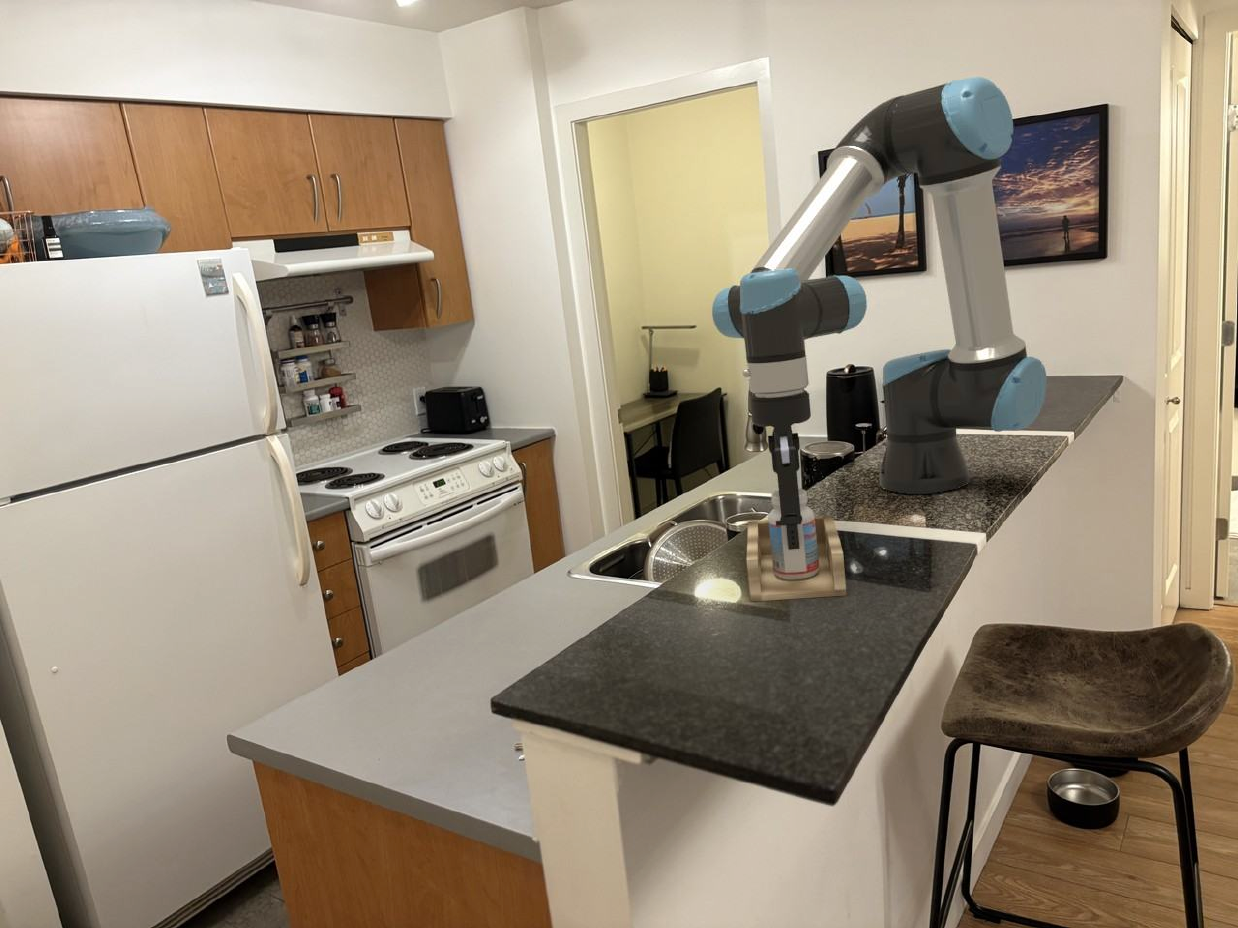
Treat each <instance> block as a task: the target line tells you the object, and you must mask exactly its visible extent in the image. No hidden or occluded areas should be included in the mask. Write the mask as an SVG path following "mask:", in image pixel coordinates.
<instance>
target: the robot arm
mask: <svg viewBox="0 0 1238 928" xmlns="http://www.w3.org/2000/svg"><path fill="white" fill-rule="evenodd" d="M1013 120H1014V119H1013V115H1012V112H1011V107H1010V105H1009V102H1008V100H1007V98H1006V96H1005V95H1004V93H1003V91H1002V90H1001V89H1000V88H999V87H997V85H996V84H995V83H994V82H993V81H991V80H990V79H988V78H986V77H982V76H981V77H979V76H974V77H969V78H964V79H957V80H952V81H949V82H945V83H943V84H940V85H936V86H932V87H930V88H926V89H923V90H919V91H915V92H912V93H911V92H910V93H907V94H905V95H898V96H895V97H892V98H890V99H887V100H886V101H883V102H882V103H881V104H878V105H877V106H876V107H875V108H873V109H872V110H871V111H870V112H868V113H866V115H865V116H864V117H862V118H861V119H860V120H859V121H858V122H857V123H856V124H855V125H854V126H853V127H852V128H851V129H850V130H849V131H848V132H847V133H846V135H845V136H844V137H842V139H841V140H840V141H839V142H838V144H837V145H836V146H835V147H834V149H833V151H831V153H830V155H829V156H828V157H827V161H826V170H825V172H824V173H823V174H822V176H821V177H820V178H819V180H818V181H817V183H815V185H814V186H813V188H812V189H811V191H810V192H809V193H808V194H807V195H806V197H805V198H804V200H803V201H802V202H801V204H800V205H799V207H798V208H797V209H796V211H795V212H794V214H793V215H791V217H790V218H789V220H788V221H787V222H786V224H785V226H784V227H783V228H782V229H781V231H780V232H779V234H778V235H777V237H775V239H774V240H773V242H772V243H771V244H770V245H769V247H768V248H767V249H766V251H765V252H764V254H763V255H762V256H761V258H759V261H757V263H756V265H754V267H753V268H752V269H751V271H750V273H746V274H744V275H743V276H742V277H741V279H740V282H739V285H731V286H730V287H726V288H723V289H722V290H720V291H719V292H718V293H717V294H716V295H715V297H714V299H713V301H712V307H711V315H712V321H713V324H714V326H715V327H716V329H717V331H718V332H719V333H720V334H721V335H723V336H725V337H728V338H731V339H732V338H734V339H743V340H744V346H745V347H744V349H745V358H746V366H747V367H748V368H747V369H743V371H742V376H743V378H748V386H749V387H748V389H749V392H751V393H752V394H754V395H752V396H751V398H750V400H749V402H750V410H751V411H750V412H751V420H752V423H753V425H754V426H757V427H764V428H765V427H772V428H773V429H772V435H767V444H768V451H769V453H770V454H771V463H772V464H771V466H772V470H773V471H772V472H774V473H775V474H776V475H777V483H778V484H777V486H778V490H779V498H780V509H781V518H780V521H776V526H781V532H782V543H783V553H784V564H785V573H788V572H802V571H806V560H805V549H804V538H803V527H802V516H801V512H800V502H799V491H798V489H799V483H798V481H799V480H798V471H799V470H800V456H799V450H800V448H801V447H800V436H799V433H798V432H795V433H793V430H792V425H795V424H796V425H797V424H798V425H799V424H802V423H805V422H807V421H808V420H810V419H811V415H812V413H811V412H812V411H811V403H810V393H809V392H808V391H807V390H806V388H807V387H808V386H809V383H810V381H809V374H808V362H807V355H806V343H805V340H809V339H812V338H816V337H817V338H818V337H823V336H828V335H835V334H842V333H843V332H846V331H848V330H852V329H854V328H856V327H857V326H858V325H860V324H861V322H862V320H863V319H864V317H865V316H866V311H867V306H868V305H867V302H868V301H867V295H866V291H865V290H864V289H865V288H864V287H863V286H862V284H861V283H860V282H859V280H857V279H855V278H854V277H851V276H848V275H828V276H826V277H820V278H812V279H810V278H811V277H812V275H813V273H814V272H815V271H816V270H817V267H819V265H820V263H822V261H823V259H824V258H825V257H826V255H827V254H828V253H829V251H830V250H831V248H832V247H833V246H834V244H835V242H836V241H837V240H838V239H839V237H840V236H841V234H842V233H843V231H844V230H845V229H846V227H847V226H848V225H849V223H850V222H851V220H852V219H853V217H854V216H855V215H856V214H857V212H858V210H859V209H860V208H861V207H862V205H863V204H864V202H865V200H867V199H868V198H872V197H874V196H876V195H877V194H878V193H880V191H881V190H882V188H883V187H884V186H885V184H886V183H888V182H890V181H891V180H893V179H896V178H899V177H901V176H905V175H910V174H916V173H917V177H918V178H917V179H918V183H919V188H920V189H922V190H923V191H925V192H927V193H928V194H930V196H931V197H932V198H931V199H932V204H933V209H934V210H933V211H934V217H935V223H936V230H937V235H938V241H939V247H940V248H939V249H940V253H941V254H940V255H941V259H942V265H943V270H944V271H943V273H944V278H945V284H946V291H947V296H948V303H949V310H950V314H951V320H952V321H951V322H952V329H953V333H954V339H955V340H954V341H955V344H954V346H953V347H952V349H949V348H948V349H946V348H945V349H944V348H943V349H937V350H931V351H930V350H929V351H926V352H922V353H916V354H915V353H914V354H910V355H906V356H902V357H898V358H893V359H890V360H888V361H886V363H885V364H884V366H883V368H882V384H881V387H882V392H883V403H884V414H885V415H884V417H885V429H886V447H885V450H884V454H883V459H882V462H881V467H880V471H879V477H878V478H879V486H881V487H883V488H885V489H887V490H890V491H894V492H893V493H895V492H898V493H897V494H903V493H906V495H925V494H926V495H927V494H928V495H929V494H938V493H937V492H940V493H944V492H943V491H947V490H952V489H956V488H959V487H961V486H963V485H965V484H967V483H968V482H969V480H970V478H971V477H970V469H969V466H968V465H967V462H966V459H965V457H964V455H963V452H962V449H961V446H960V444H959V441H958V435H957V429H966V430H977V431H978V430H981V431H994V432H996V433H999V432H1004V431H1005V432H1008V431H1009V432H1010V431H1011V432H1012V431H1013V432H1014V431H1015V432H1017V431H1022V430H1023V429H1026V428H1027V427H1029V426H1030V425H1031V424H1032V423H1033V422H1034V421H1035V419H1036V418H1037V417H1038V415H1039V413H1040V412H1041V409H1042V406H1043V403H1044V402H1045V397H1046V392H1047V383H1048V382H1047V381H1048V380H1047V378H1048V377H1047V371H1046V368H1045V366H1044V364H1043V362H1042V361H1041V360H1040V359H1039V358H1036V357H1033V356H1028V353H1027V347H1026V342H1025V340H1023V339H1022V338H1021V337H1019V336H1017V335H1015V333H1014V330H1013V322H1012V317H1011V316H1012V315H1011V307H1010V302H1009V300H1010V299H1009V293H1008V286H1007V279H1006V272H1005V271H1006V270H1005V267H1004V266H1005V265H1004V259H1003V257H1004V256H1003V249H1002V245H1001V237H1000V229H999V221H998V215H997V208H996V202H995V195H994V188H993V187H994V186H993V179H994V178H995V176H996V175H997V174H998V172H999V171H1000V170H1001V167H1002V164H1001V159H1000V157H1002V156H1004V155H1005V154H1006V153H1007V152H1008V151H1009V149H1010V147H1011V145H1012V143H1013V139H1012V136H1013V134H1014V121H1013ZM969 483H970V482H969ZM881 487H880V488H881ZM959 489H960V488H959ZM887 490H886V491H887ZM956 490H957V489H956ZM890 491H889V492H890ZM952 491H953V490H952ZM947 492H948V491H947ZM787 514H788V515H787Z"/></svg>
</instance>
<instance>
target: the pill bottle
mask: <svg viewBox="0 0 1238 928" xmlns="http://www.w3.org/2000/svg"><path fill="white" fill-rule="evenodd" d="M798 491H799V502H800V512H801V516H802V527H803V538H804V549H805V560H806V571H802V572H788V573H785V564H784V553H783V543H782V532H781V526H776V521H780V518H781V509H780V498H779V489H778V490H776V491H773V492H772V493H771V497H770V498H771V504H772V506H773V507H774V508H773V509H772V510H770V512H769V514H768V517H767V518H768V519H767V520H768V522H769V533H770V543H771V553H772V563H773V571H774V574H775V575H776V576H777V577H779V578H782V579H787V580H795V579H805V578H810V577H812V576H814V575H816V574H817V573H818V571H819V558H818V547H817V537H816V527H815V517H814V516H815V512H814V511H813V509H812V508H811V507H809V506H808V505H807V503H808V494H807V490H805V489H803V488H798ZM806 505H807V506H806ZM787 515H788V514H787Z"/></svg>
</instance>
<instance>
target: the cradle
mask: <svg viewBox="0 0 1238 928" xmlns="http://www.w3.org/2000/svg"><path fill="white" fill-rule="evenodd" d="M814 517H815V527H816V537H817V547H818V558H819V571H818V573H817V574H816V575H814V576H812V577H810V578H805V579H795V580H787V579H782V578H779V577H777V576H776V575H775V574H774V571H773V563H772V553H771V543H770V533H769V522H768V519H766V520H765V519H764V520H755V521H747V523H748V524H747V539H746V540H747V543H746V568H747V578H748V589H749V596H750V597H749V598H750V602H766V601H768V602H769V601H780V600H795V599H796V600H797V599H809V598H810V599H811V598H825V597H838V596H839V597H840V596H842V597H843V596H847V585H846V583H847V582H846V573H845V571H846V570H845V559H844V557H845V556H844V551H843V548H842V543H841V540H840V537H839V532H838V530H837V526H836V522H835V519H834V516H833V514H829V515H828V514H827V515H814Z"/></svg>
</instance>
